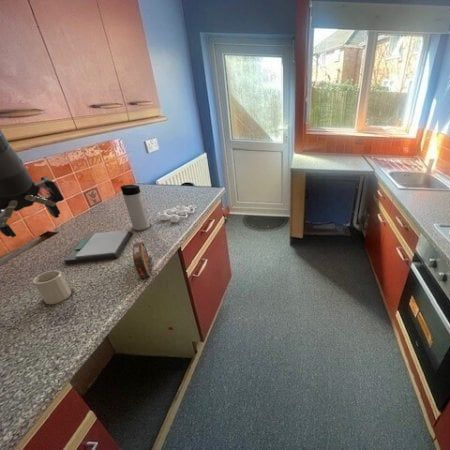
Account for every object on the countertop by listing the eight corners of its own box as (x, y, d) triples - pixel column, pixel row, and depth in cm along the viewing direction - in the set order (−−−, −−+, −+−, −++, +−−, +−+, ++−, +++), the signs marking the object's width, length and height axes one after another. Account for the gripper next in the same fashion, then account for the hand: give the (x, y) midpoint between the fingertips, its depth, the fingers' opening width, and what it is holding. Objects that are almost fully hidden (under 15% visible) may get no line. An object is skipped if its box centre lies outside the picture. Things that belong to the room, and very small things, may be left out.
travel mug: (129, 230, 107) (115, 186, 97) (142, 224, 112) (130, 181, 103) (141, 233, 105) (127, 188, 96) (153, 226, 111) (142, 183, 101)
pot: (41, 307, 69) (27, 285, 65) (52, 293, 73) (40, 271, 70) (66, 303, 70) (54, 281, 66) (75, 290, 75) (65, 268, 71)
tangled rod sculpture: (181, 207, 132) (179, 199, 131) (204, 209, 129) (203, 201, 127) (152, 221, 116) (150, 213, 114) (177, 224, 112) (175, 216, 110)
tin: (150, 281, 80) (144, 259, 76) (139, 284, 78) (132, 262, 74) (149, 256, 91) (143, 237, 87) (139, 259, 90) (132, 239, 86)
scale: (66, 265, 85) (63, 259, 83) (89, 238, 100) (87, 232, 98) (117, 259, 89) (114, 253, 87) (132, 235, 104) (130, 229, 102)
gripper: (28, 148, 55) (58, 204, 66) (-71, 172, 44) (-16, 234, 55) (51, 163, 53) (77, 217, 64) (-45, 191, 43) (6, 250, 54)
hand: (34, 225), depth 60 cm, fingers open, 8 cm apart
